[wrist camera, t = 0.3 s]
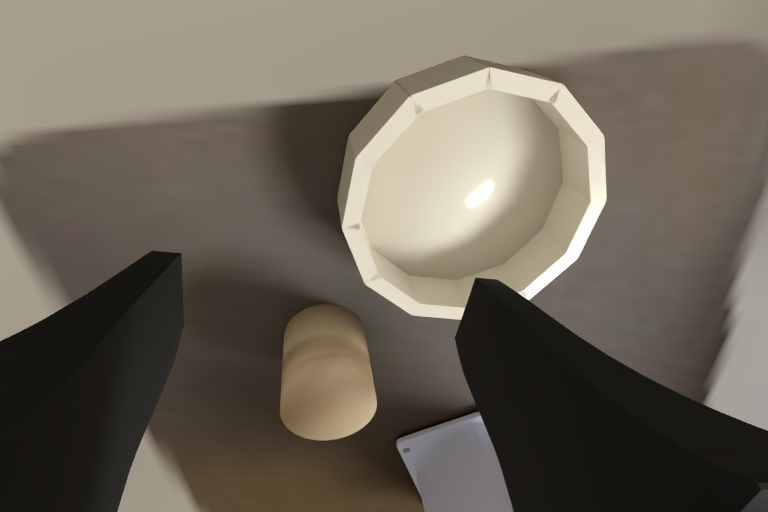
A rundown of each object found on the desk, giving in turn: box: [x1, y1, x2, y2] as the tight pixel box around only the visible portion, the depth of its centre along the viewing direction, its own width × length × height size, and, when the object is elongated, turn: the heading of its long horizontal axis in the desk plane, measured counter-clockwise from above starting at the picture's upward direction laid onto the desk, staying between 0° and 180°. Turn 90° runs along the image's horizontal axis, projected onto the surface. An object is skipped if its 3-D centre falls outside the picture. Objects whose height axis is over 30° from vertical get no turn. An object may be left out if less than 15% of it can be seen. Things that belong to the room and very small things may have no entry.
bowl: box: [337, 56, 606, 320], centre depth 20 cm, size 11×11×3 cm
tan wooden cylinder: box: [280, 304, 377, 440], centre depth 23 cm, size 4×4×5 cm
